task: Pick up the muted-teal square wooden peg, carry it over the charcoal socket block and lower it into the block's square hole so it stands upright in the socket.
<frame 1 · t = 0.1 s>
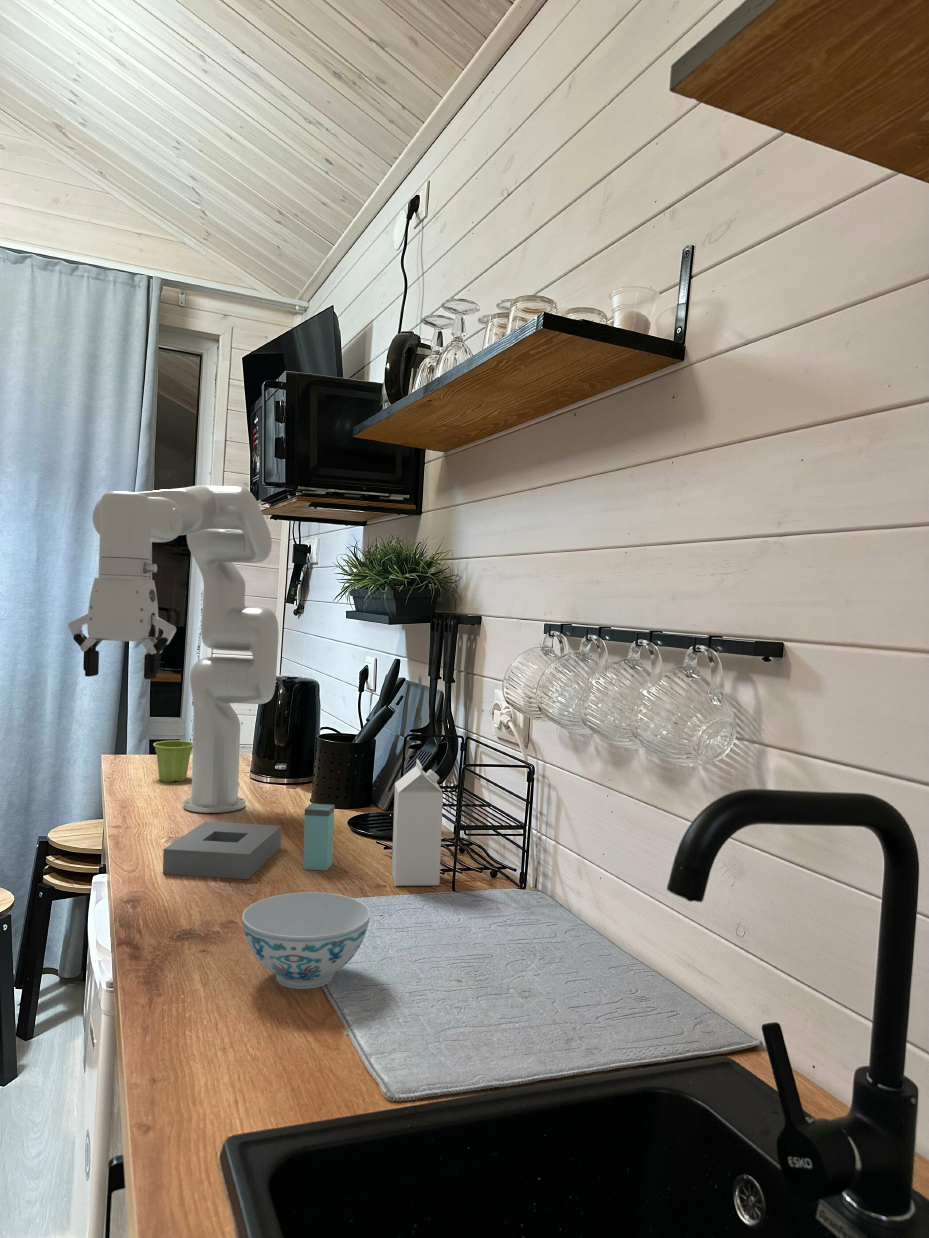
hand: (120, 677, 143), 31 cm above the worktop, fingers open, 9 cm apart
chinaware: (304, 978, 106), on the worktop
socket block: (224, 860, 151), on the worktop
plant pot: (172, 780, 214), on the worktop
milk carton: (414, 880, 145), on the worktop
peg: (317, 866, 150), on the worktop
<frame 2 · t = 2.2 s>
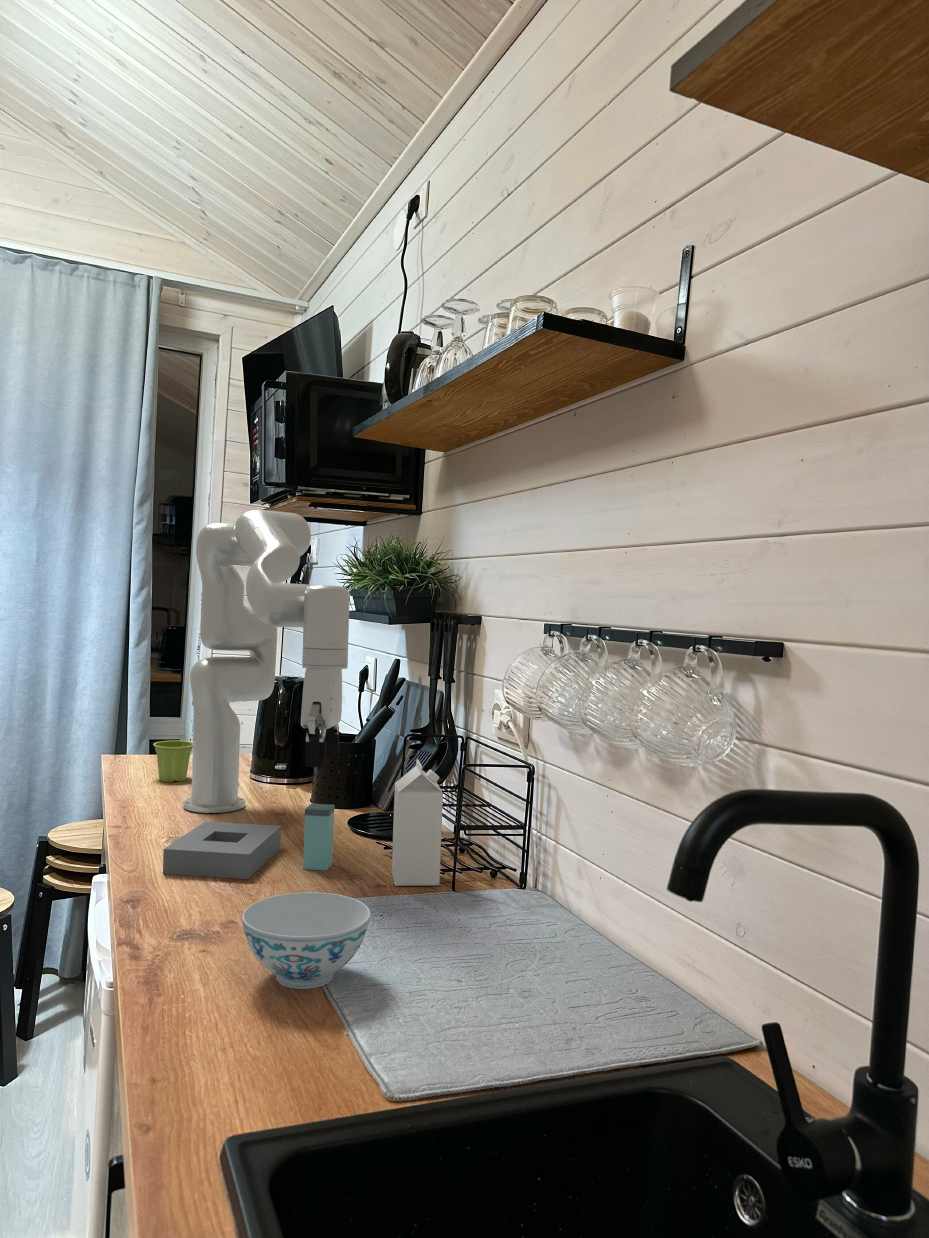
hand: (322, 761, 149), 18 cm above the worktop, fingers open, 9 cm apart
nothing on the worktop moved.
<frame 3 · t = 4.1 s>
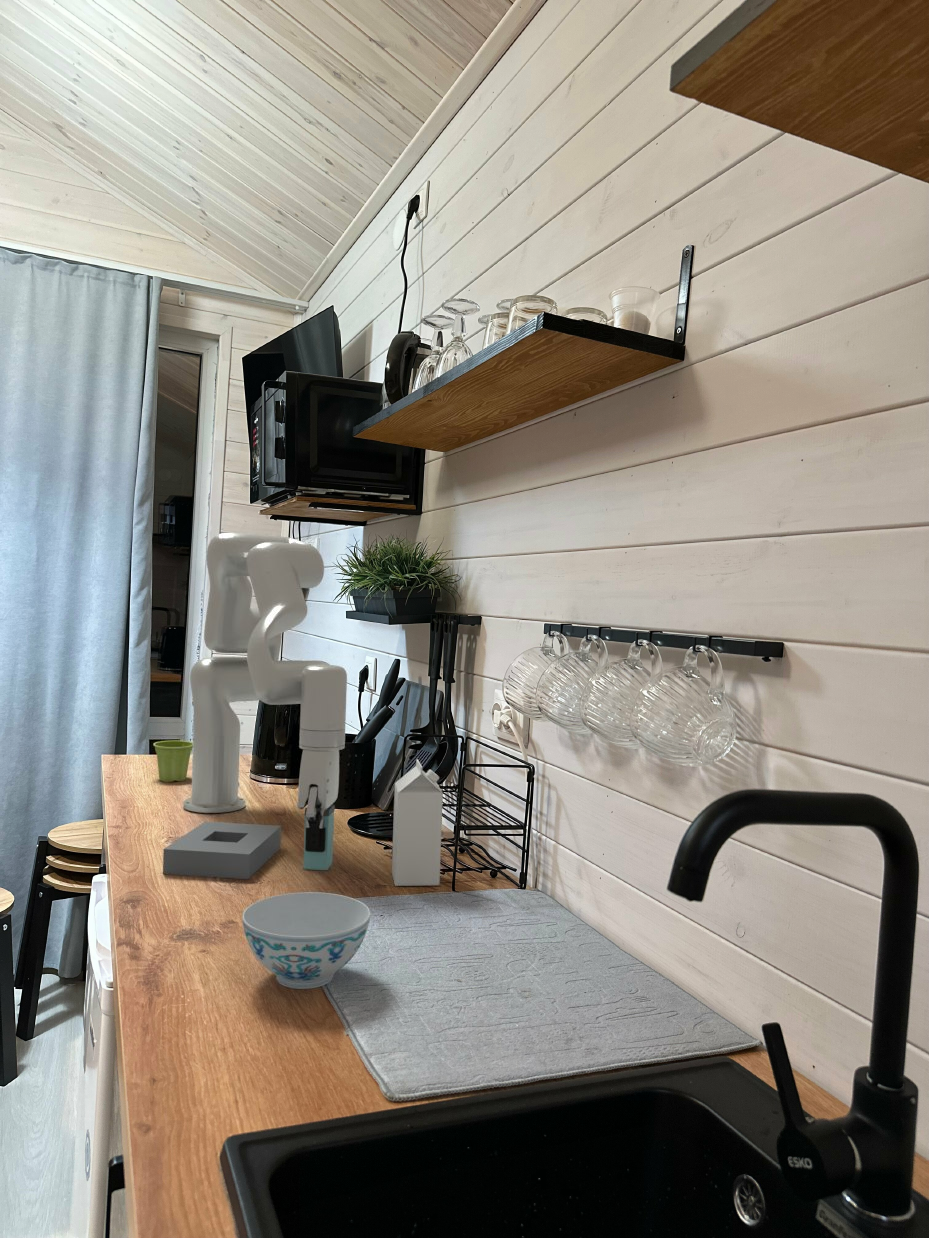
hand: (318, 846, 150), 3 cm above the worktop, fingers closed on peg, 4 cm apart
peg: (317, 865, 150), on the worktop, touching gripper
everything else where it was.
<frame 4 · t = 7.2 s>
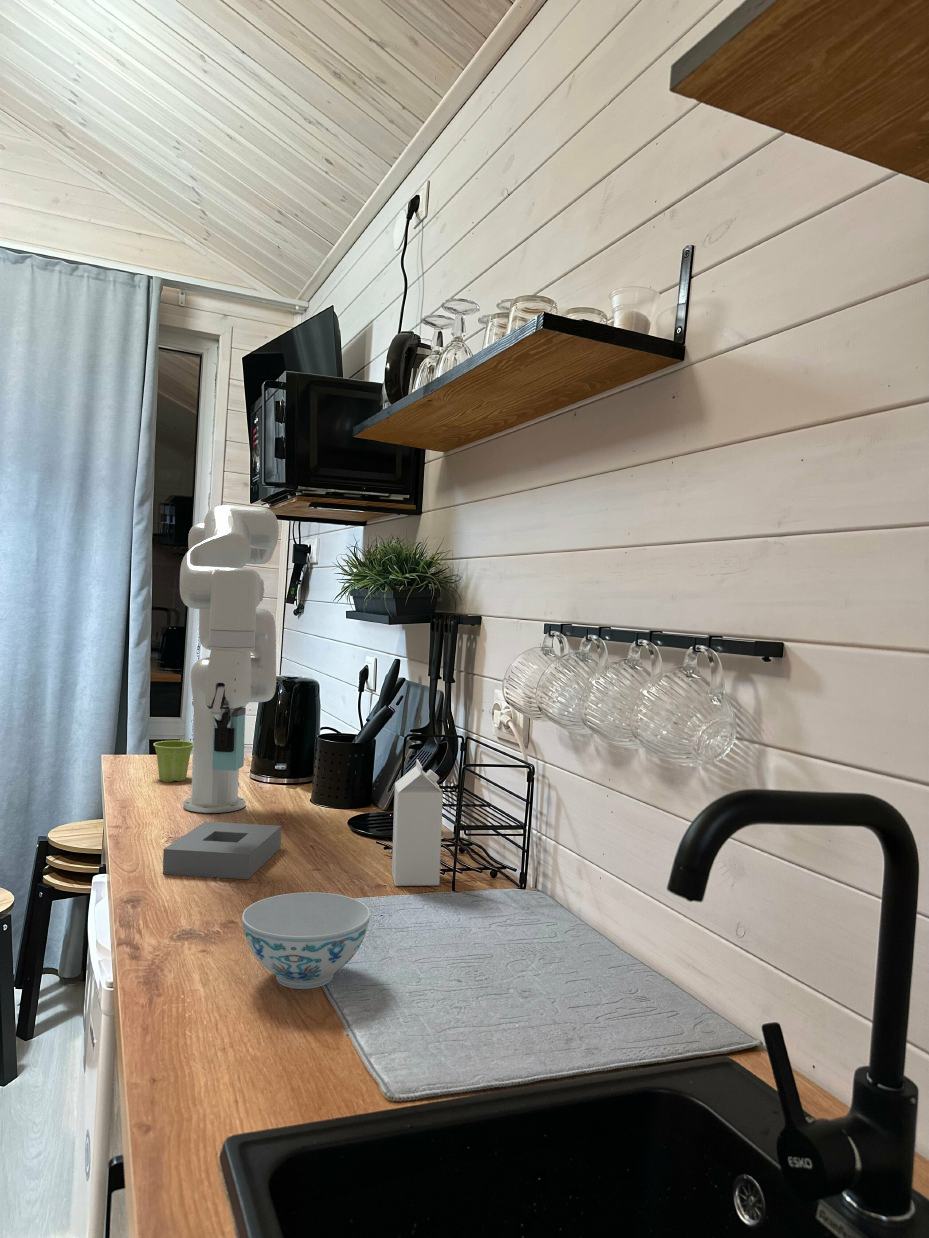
hand: (228, 748, 151), 19 cm above the worktop, fingers closed on peg, 4 cm apart
peg: (228, 767, 151), point 16 cm above the worktop, touching gripper
everything else where it was.
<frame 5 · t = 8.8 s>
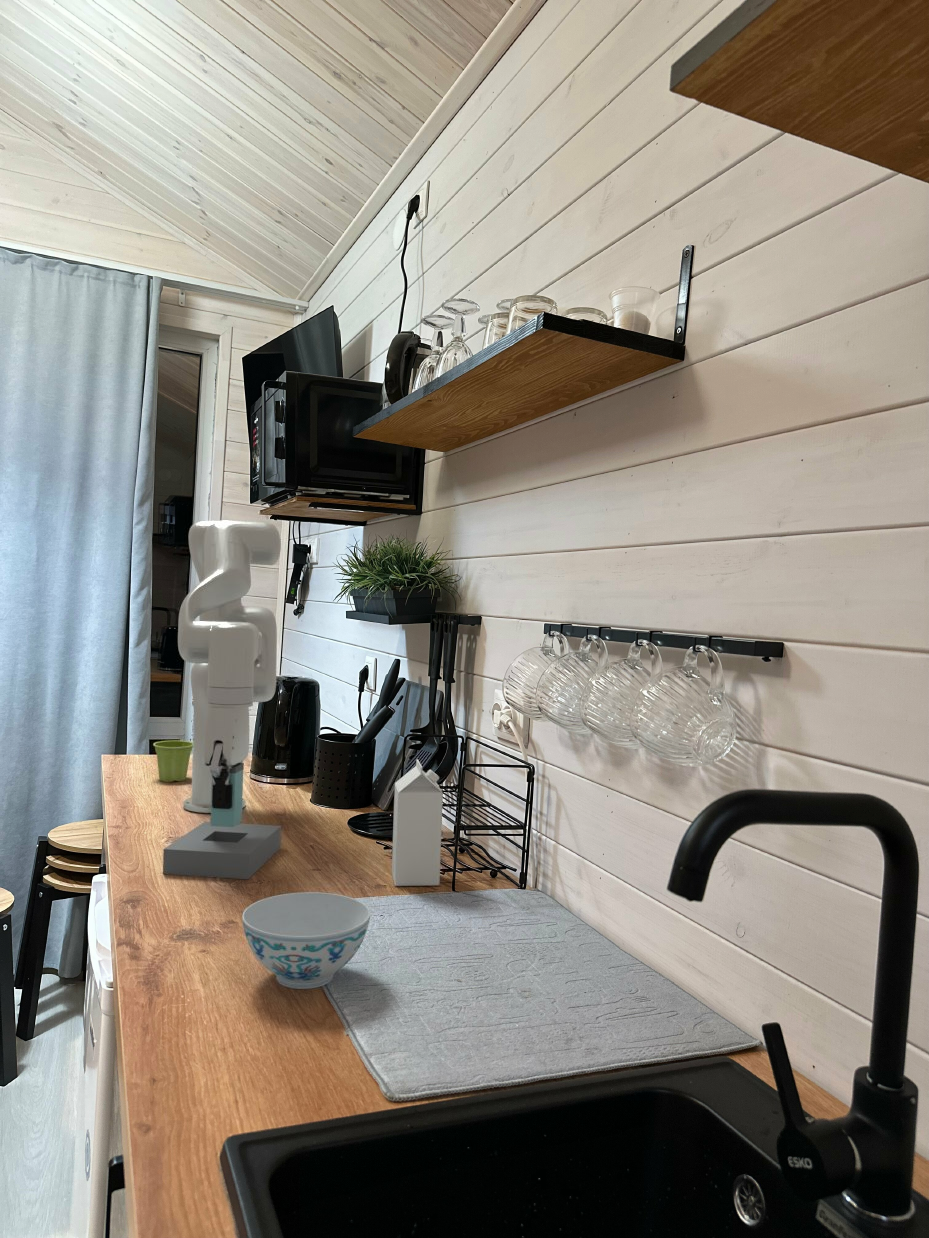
hand: (226, 804, 151), 10 cm above the worktop, fingers closed on peg, 4 cm apart
peg: (226, 823, 151), point 6 cm above the worktop, touching gripper
everything else where it was.
when the fingers open (6 cm above the worktop, at t = 10.2 s): peg drops 3 cm, resting in socket block.
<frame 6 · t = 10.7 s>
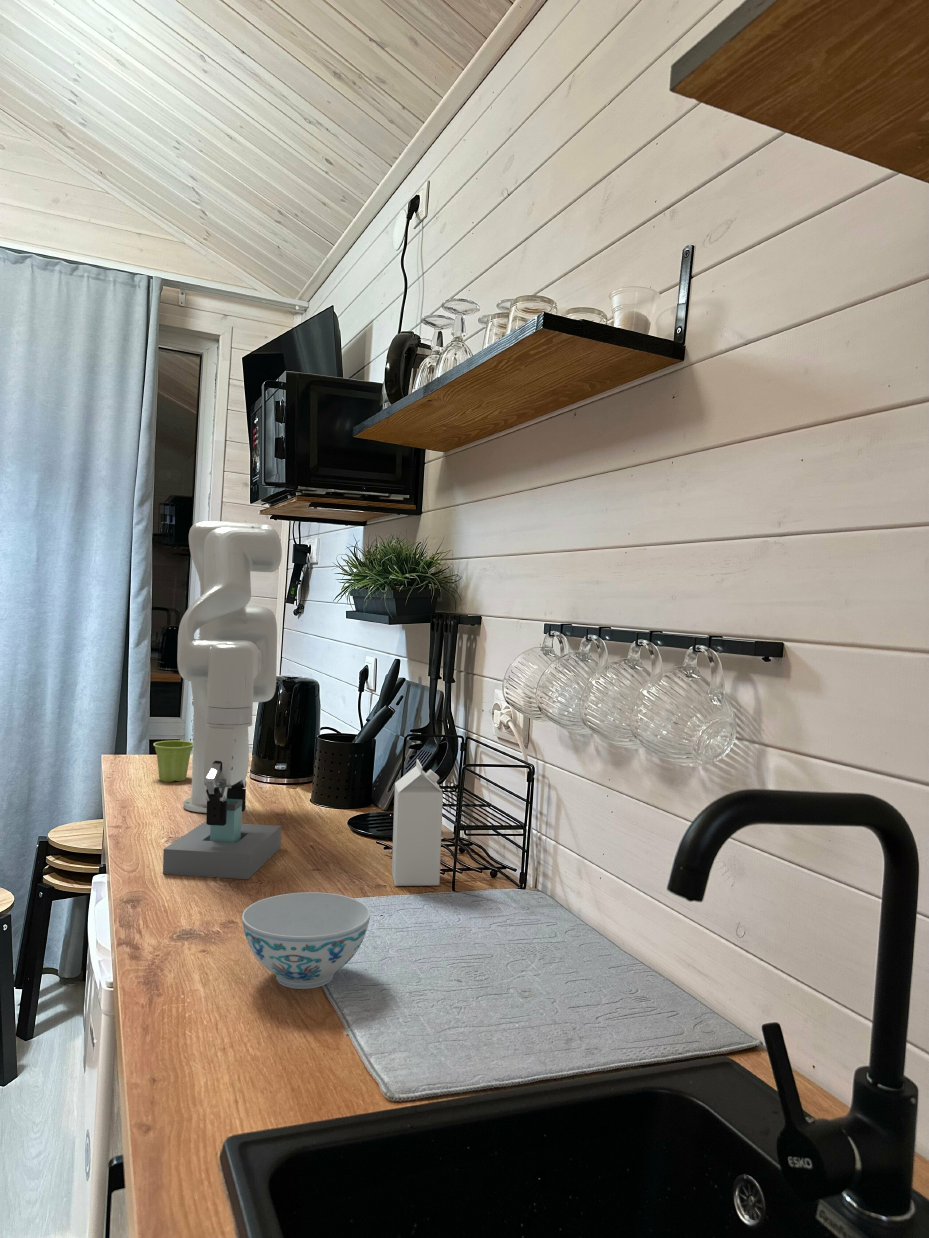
hand: (226, 817, 151), 7 cm above the worktop, fingers open, 9 cm apart
peg: (224, 860, 151), resting in socket block
everything else where it was.
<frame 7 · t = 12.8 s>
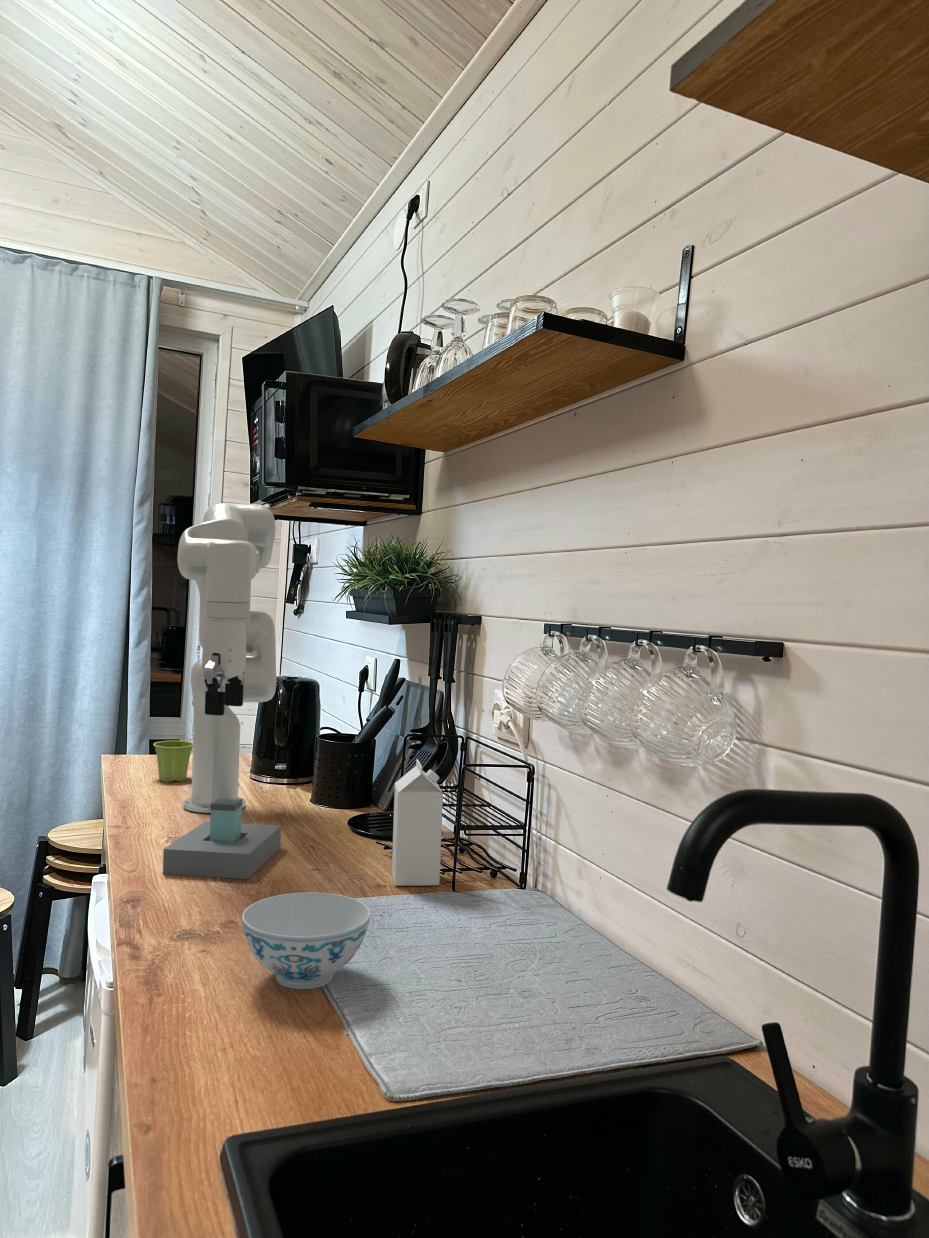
hand: (224, 710, 155), 25 cm above the worktop, fingers open, 9 cm apart
nothing on the worktop moved.
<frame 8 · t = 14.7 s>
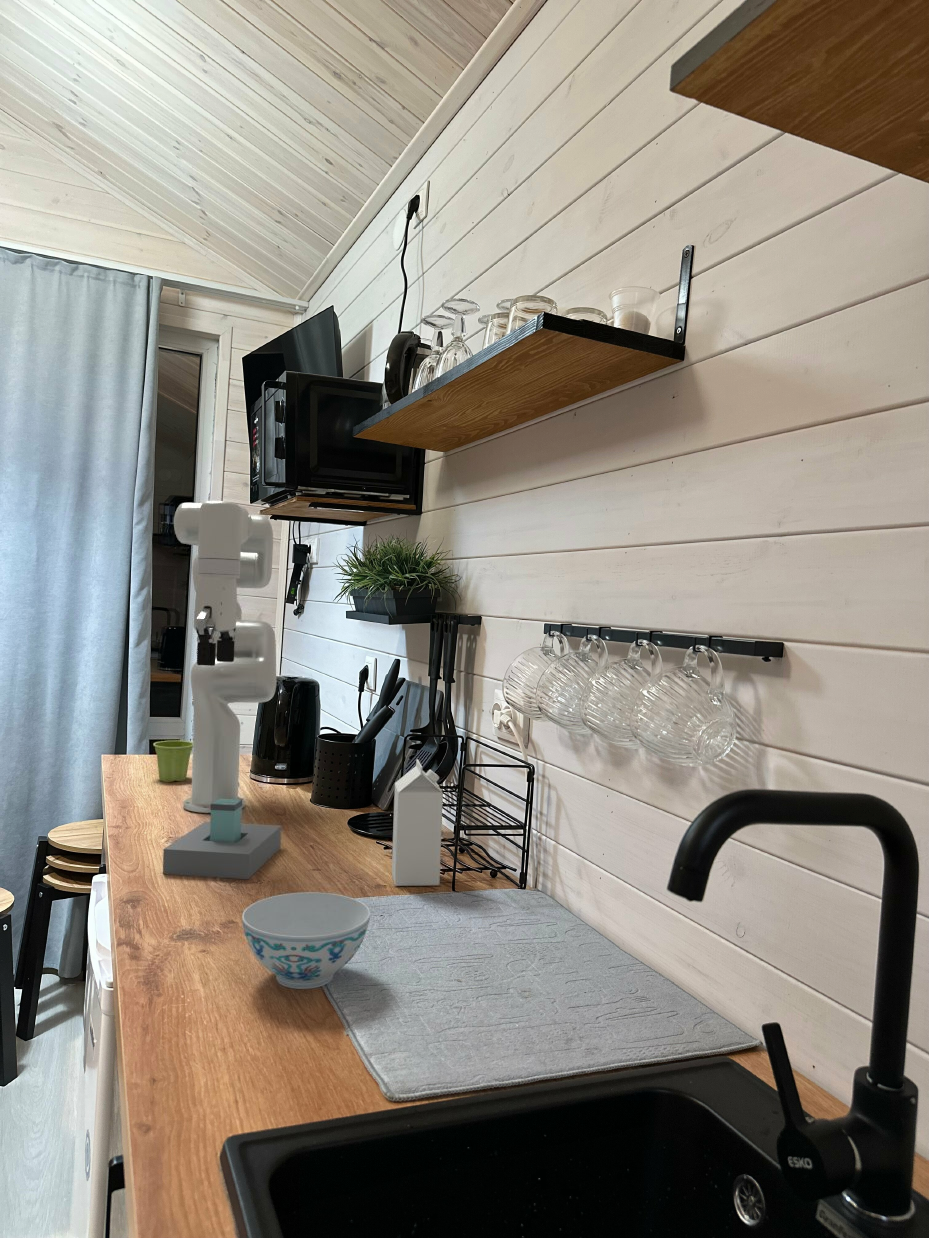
hand: (215, 663, 163), 32 cm above the worktop, fingers open, 9 cm apart
nothing on the worktop moved.
at the end: peg 0.0 cm off-centre on the socket block, point 0.0 cm above the socket block's base; peg tilted 0°; the gripper is holding nothing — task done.
